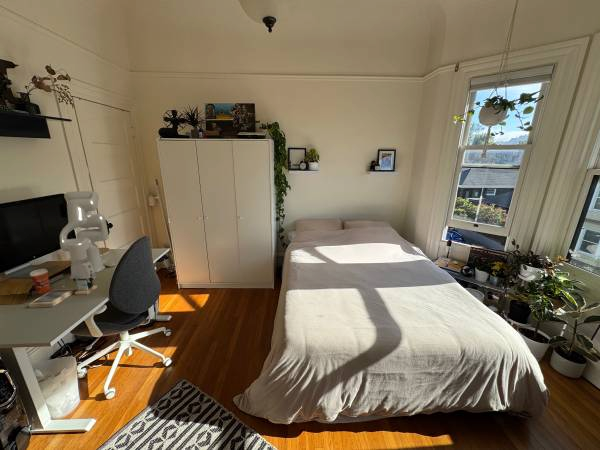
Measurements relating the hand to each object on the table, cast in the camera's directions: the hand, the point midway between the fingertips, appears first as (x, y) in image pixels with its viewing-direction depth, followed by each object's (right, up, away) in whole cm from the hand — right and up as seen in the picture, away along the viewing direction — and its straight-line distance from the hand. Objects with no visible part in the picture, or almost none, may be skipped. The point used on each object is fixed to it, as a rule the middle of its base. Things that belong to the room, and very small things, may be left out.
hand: (85, 287), depth 153 cm
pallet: (0, -2, +1) cm, 3 cm away
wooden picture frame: (-11, -5, -9) cm, 15 cm away
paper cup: (-25, -2, -1) cm, 25 cm away
